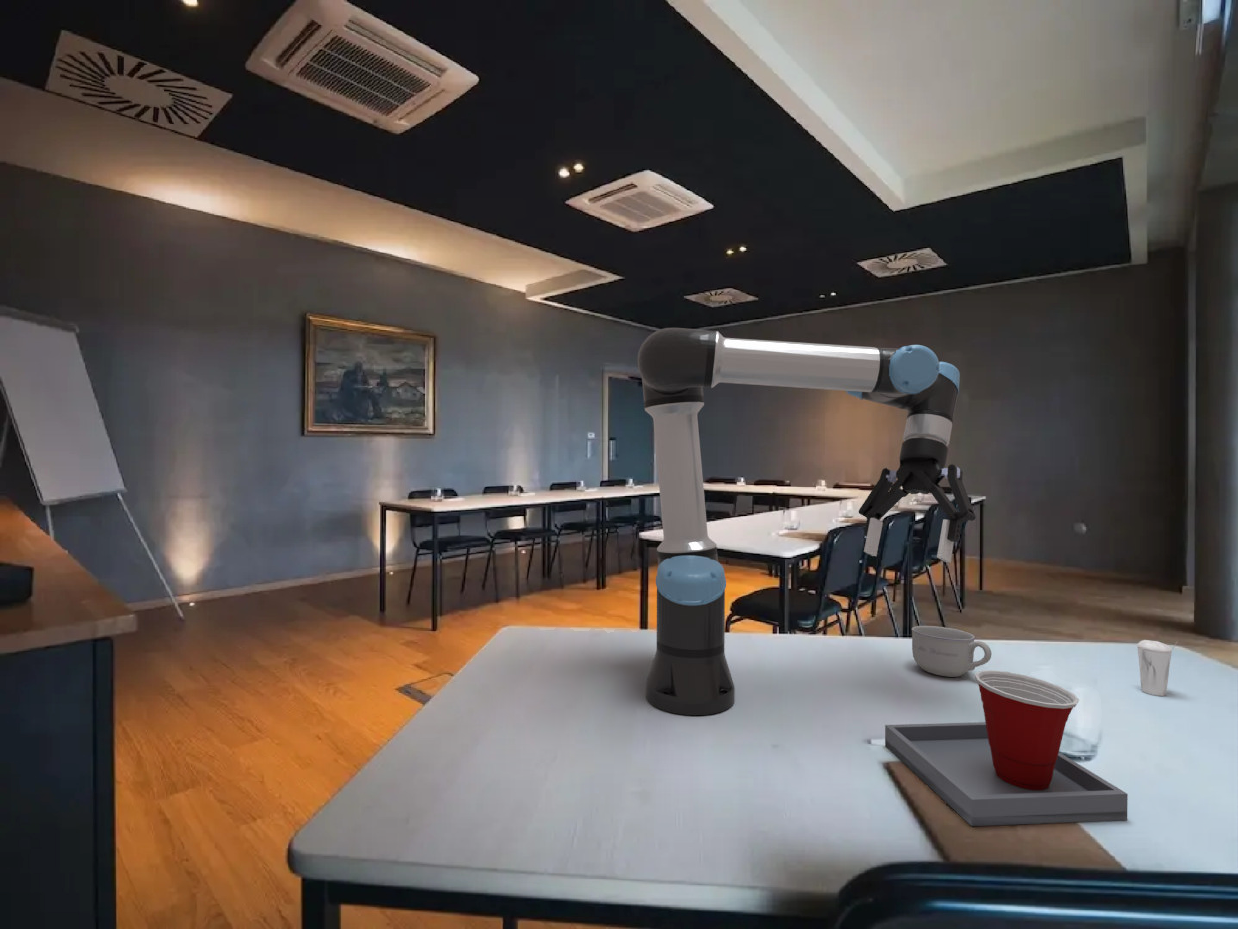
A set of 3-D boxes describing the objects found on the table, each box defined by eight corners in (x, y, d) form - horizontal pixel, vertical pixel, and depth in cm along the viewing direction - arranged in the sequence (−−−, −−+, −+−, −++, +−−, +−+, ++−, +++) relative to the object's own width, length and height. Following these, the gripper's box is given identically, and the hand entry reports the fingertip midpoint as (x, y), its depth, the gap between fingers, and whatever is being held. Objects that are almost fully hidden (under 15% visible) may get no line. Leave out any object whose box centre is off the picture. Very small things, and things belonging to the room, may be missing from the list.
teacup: (899, 666, 117) (899, 626, 117) (937, 659, 122) (937, 621, 121) (964, 692, 104) (964, 647, 104) (1004, 683, 109) (1005, 640, 109)
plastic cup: (1098, 808, 68) (1100, 704, 68) (994, 797, 70) (996, 696, 70) (1049, 761, 78) (1050, 671, 78) (960, 753, 80) (961, 665, 80)
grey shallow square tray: (971, 826, 66) (971, 799, 66) (885, 745, 84) (885, 725, 84) (1127, 820, 67) (1127, 794, 67) (1008, 742, 86) (1008, 721, 86)
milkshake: (1175, 701, 101) (1176, 643, 101) (1134, 692, 105) (1135, 636, 105) (1179, 694, 104) (1179, 638, 104) (1138, 685, 108) (1139, 631, 108)
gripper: (1010, 446, 98) (992, 570, 93) (876, 456, 119) (856, 557, 114) (986, 428, 95) (967, 555, 89) (853, 442, 116) (831, 545, 111)
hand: (904, 557), depth 102 cm, fingers open, 13 cm apart
